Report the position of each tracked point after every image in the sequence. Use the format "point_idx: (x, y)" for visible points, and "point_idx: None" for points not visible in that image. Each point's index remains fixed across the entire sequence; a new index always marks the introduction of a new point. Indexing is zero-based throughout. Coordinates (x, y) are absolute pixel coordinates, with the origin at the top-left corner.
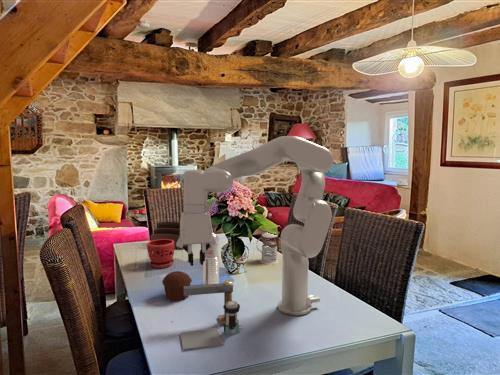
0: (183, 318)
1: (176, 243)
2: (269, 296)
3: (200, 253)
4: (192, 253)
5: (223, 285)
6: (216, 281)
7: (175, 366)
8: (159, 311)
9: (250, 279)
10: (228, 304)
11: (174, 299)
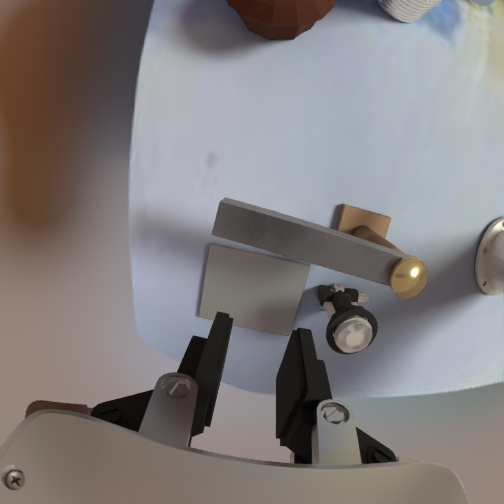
0: (248, 155)
1: (27, 415)
2: (499, 166)
3: (283, 422)
4: (208, 415)
5: (385, 279)
6: (417, 17)
7: (174, 350)
8: (195, 81)
9: (494, 50)
10: (341, 343)
11: (259, 32)
